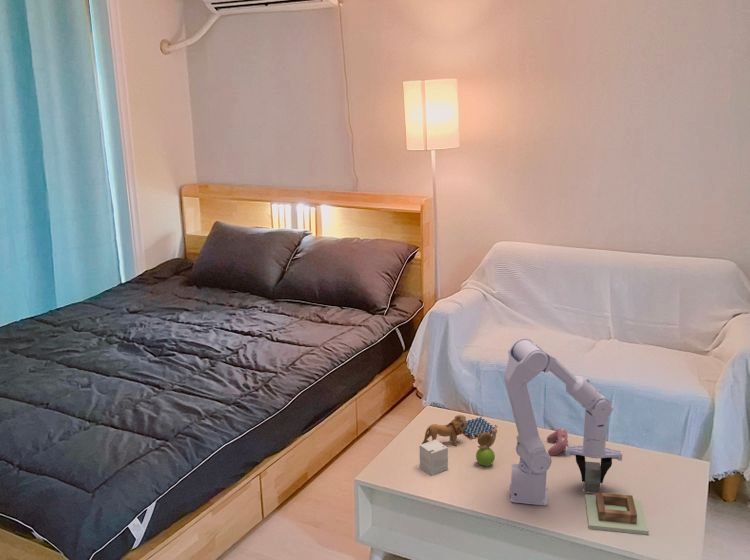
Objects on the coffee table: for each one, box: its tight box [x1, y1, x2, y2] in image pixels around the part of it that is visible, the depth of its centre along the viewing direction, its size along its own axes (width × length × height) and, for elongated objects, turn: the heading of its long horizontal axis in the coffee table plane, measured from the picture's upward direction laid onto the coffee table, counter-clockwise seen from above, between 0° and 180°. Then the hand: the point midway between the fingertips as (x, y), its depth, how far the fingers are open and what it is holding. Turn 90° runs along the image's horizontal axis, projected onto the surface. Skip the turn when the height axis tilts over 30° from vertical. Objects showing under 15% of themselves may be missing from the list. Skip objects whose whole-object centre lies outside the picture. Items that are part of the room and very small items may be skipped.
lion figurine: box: [421, 414, 467, 447], centre depth 218 cm, size 15×5×9 cm, turn 103°
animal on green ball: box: [475, 424, 498, 467], centre depth 205 cm, size 5×6×12 cm
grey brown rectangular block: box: [582, 460, 601, 494], centre depth 192 cm, size 4×4×7 cm
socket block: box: [584, 491, 649, 536], centre depth 180 cm, size 14×14×4 cm
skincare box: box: [419, 439, 449, 476], centre depth 204 cm, size 6×6×7 cm
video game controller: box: [546, 428, 569, 456], centre depth 214 cm, size 10×5×7 cm, turn 169°
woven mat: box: [461, 416, 495, 441], centre depth 228 cm, size 10×11×2 cm
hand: (591, 480), depth 193 cm, fingers open, 4 cm apart
